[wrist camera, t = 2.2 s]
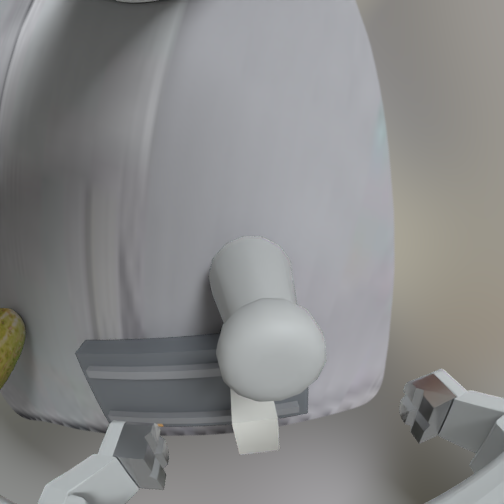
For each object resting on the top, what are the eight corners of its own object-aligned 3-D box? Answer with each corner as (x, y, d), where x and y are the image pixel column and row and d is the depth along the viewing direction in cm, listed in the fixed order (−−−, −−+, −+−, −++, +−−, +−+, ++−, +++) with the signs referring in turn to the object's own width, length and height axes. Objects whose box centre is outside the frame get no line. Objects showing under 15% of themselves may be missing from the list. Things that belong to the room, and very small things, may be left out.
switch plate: (85, 340, 22) (71, 358, 19) (301, 322, 24) (311, 342, 21) (115, 408, 25) (107, 428, 22) (302, 397, 26) (309, 418, 23)
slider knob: (229, 375, 21) (231, 423, 16) (267, 370, 22) (277, 417, 16) (236, 408, 22) (239, 454, 17) (270, 404, 22) (279, 450, 17)
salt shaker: (250, 315, 23) (274, 440, 11) (195, 271, 22) (162, 380, 9) (300, 262, 22) (378, 354, 10) (246, 213, 21) (275, 263, 9)
